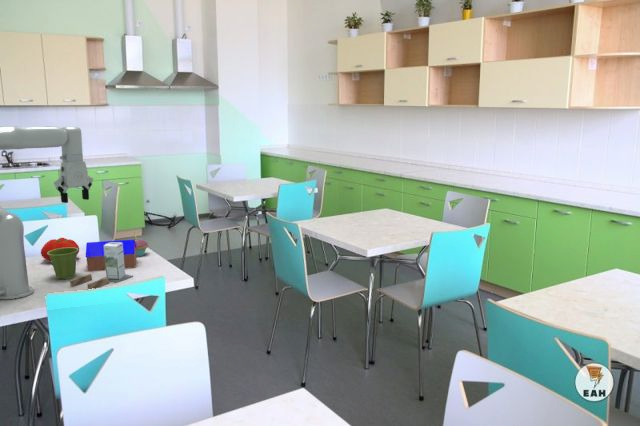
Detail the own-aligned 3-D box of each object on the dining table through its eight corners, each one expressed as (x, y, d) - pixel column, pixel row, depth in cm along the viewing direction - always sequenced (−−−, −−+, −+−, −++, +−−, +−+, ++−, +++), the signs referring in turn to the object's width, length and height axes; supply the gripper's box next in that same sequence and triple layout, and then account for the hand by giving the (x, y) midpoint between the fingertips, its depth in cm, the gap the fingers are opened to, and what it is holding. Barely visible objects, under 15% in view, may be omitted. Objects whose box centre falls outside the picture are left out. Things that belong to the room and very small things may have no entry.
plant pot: (65, 271, 237) (63, 246, 234) (87, 274, 232) (84, 248, 230) (43, 279, 226) (40, 253, 224) (65, 282, 222) (62, 255, 219)
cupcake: (126, 256, 259) (124, 232, 256) (137, 252, 267) (135, 228, 264) (141, 258, 256) (140, 233, 254) (152, 253, 264) (150, 229, 262)
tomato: (71, 264, 246) (69, 243, 244) (35, 265, 247) (33, 243, 245) (85, 256, 260) (83, 235, 258) (51, 256, 261) (49, 236, 259)
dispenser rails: (89, 290, 212) (88, 284, 211) (70, 286, 217) (70, 280, 216) (109, 283, 220) (108, 277, 220) (90, 279, 225) (89, 273, 225)
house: (91, 264, 248) (88, 239, 245) (137, 260, 252) (135, 236, 250) (86, 272, 236) (84, 245, 234) (135, 268, 241) (133, 242, 239)
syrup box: (125, 275, 229) (123, 241, 226) (119, 279, 223) (116, 245, 220) (112, 275, 230) (110, 241, 227) (105, 279, 224) (102, 245, 221)
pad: (116, 282, 221) (116, 281, 221) (100, 279, 225) (100, 278, 225) (133, 276, 229) (132, 275, 229) (117, 273, 233) (117, 272, 233)
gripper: (59, 160, 208) (62, 204, 211) (97, 157, 223) (99, 199, 226) (46, 159, 211) (49, 203, 214) (84, 156, 226) (87, 197, 229)
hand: (75, 201), depth 220 cm, fingers open, 9 cm apart
